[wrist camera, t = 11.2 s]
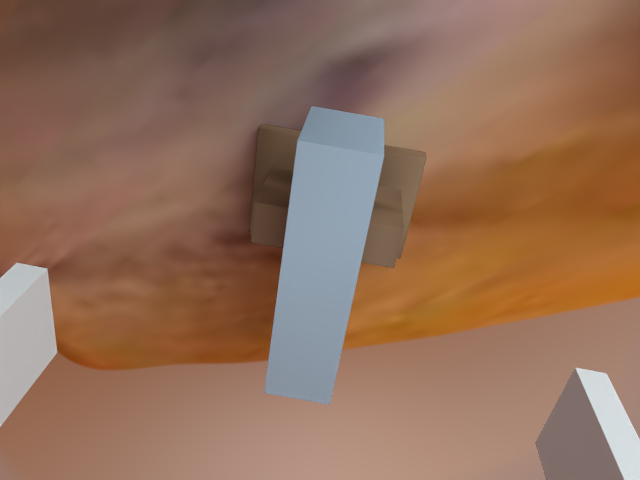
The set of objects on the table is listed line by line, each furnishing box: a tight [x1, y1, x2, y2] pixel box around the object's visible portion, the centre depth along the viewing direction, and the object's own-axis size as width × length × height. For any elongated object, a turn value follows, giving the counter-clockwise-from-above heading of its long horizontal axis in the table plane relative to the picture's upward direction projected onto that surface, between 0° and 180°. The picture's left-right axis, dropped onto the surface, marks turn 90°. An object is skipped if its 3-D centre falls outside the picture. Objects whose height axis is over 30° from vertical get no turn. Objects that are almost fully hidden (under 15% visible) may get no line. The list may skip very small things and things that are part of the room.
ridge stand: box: [249, 124, 426, 268], centre depth 32 cm, size 10×7×6 cm
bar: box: [264, 106, 384, 405], centre depth 27 cm, size 4×14×5 cm, turn 171°
